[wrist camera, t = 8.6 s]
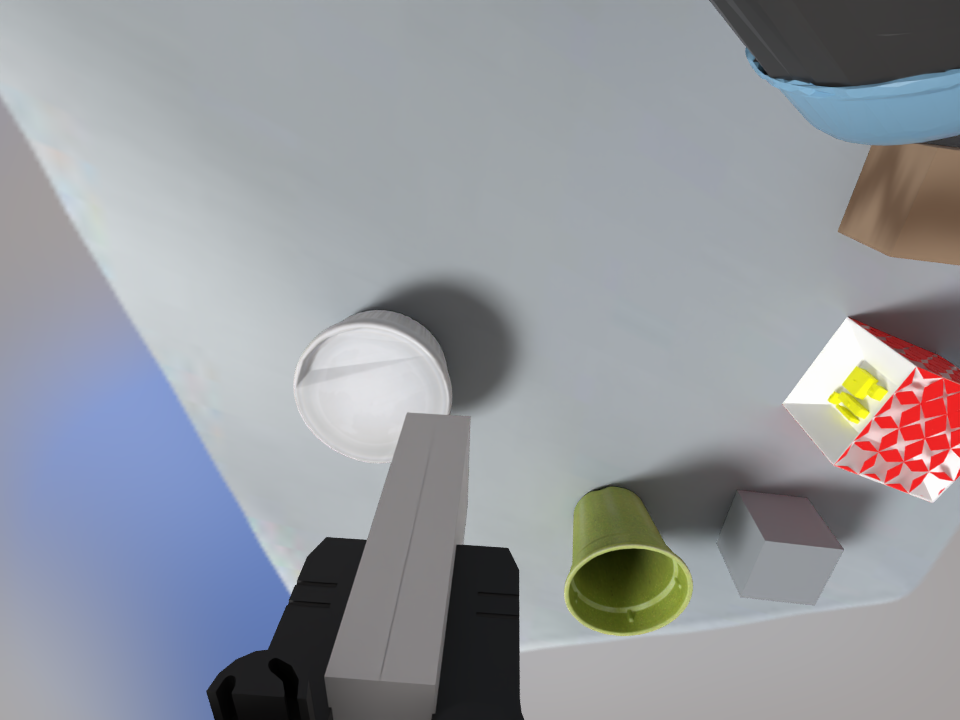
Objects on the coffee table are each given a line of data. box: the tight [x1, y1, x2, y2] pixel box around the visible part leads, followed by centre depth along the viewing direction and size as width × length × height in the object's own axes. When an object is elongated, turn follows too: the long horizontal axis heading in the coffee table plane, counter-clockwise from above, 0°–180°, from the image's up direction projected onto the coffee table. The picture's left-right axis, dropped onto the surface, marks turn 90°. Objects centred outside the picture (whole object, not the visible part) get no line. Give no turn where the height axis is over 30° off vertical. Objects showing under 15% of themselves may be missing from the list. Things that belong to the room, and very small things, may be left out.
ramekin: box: [294, 310, 452, 463], centre depth 42 cm, size 11×11×5 cm
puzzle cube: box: [782, 317, 960, 503], centre depth 40 cm, size 8×8×8 cm
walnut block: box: [838, 143, 960, 265], centre depth 35 cm, size 6×6×6 cm
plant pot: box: [564, 487, 693, 636], centre depth 46 cm, size 9×9×9 cm
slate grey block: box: [716, 490, 844, 606], centre depth 47 cm, size 6×6×6 cm
